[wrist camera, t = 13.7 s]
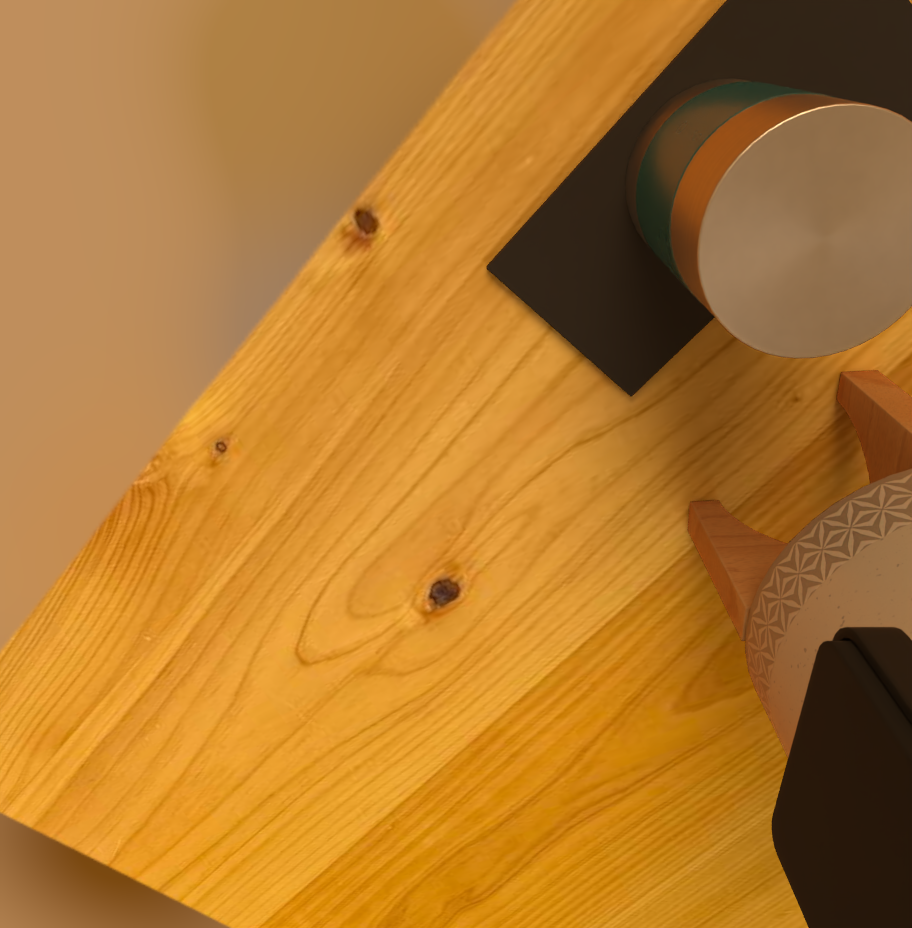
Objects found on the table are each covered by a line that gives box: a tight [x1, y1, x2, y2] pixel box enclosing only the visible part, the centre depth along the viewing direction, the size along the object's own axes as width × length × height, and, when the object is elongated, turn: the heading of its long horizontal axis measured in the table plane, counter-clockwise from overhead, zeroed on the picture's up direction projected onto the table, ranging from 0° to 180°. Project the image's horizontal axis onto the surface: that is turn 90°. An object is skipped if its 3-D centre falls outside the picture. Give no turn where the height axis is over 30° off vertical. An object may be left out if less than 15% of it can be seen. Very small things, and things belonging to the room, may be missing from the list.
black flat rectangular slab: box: [487, 0, 912, 396], centre depth 32 cm, size 16×8×1 cm, turn 138°
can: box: [625, 79, 912, 358], centre depth 27 cm, size 7×7×10 cm
